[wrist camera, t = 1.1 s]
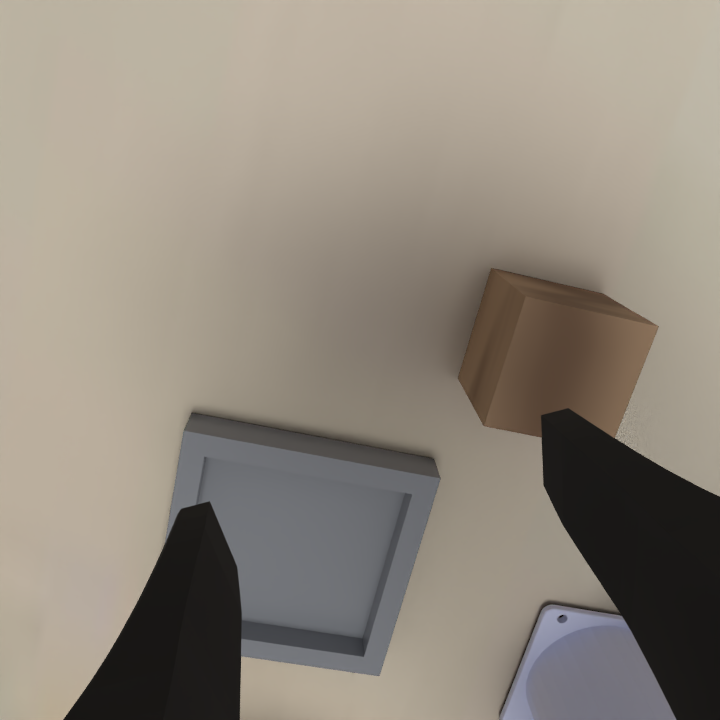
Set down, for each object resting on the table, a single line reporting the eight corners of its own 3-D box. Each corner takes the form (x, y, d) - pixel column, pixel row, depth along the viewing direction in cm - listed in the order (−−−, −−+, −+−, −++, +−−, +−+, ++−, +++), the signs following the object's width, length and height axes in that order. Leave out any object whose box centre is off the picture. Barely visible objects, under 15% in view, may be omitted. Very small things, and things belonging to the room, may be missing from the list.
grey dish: (433, 458, 30) (440, 478, 28) (376, 648, 33) (379, 676, 32) (191, 412, 29) (183, 430, 27) (157, 615, 32) (148, 642, 30)
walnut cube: (602, 293, 28) (658, 326, 23) (563, 399, 30) (609, 450, 25) (490, 267, 27) (525, 296, 23) (457, 377, 29) (484, 426, 24)
